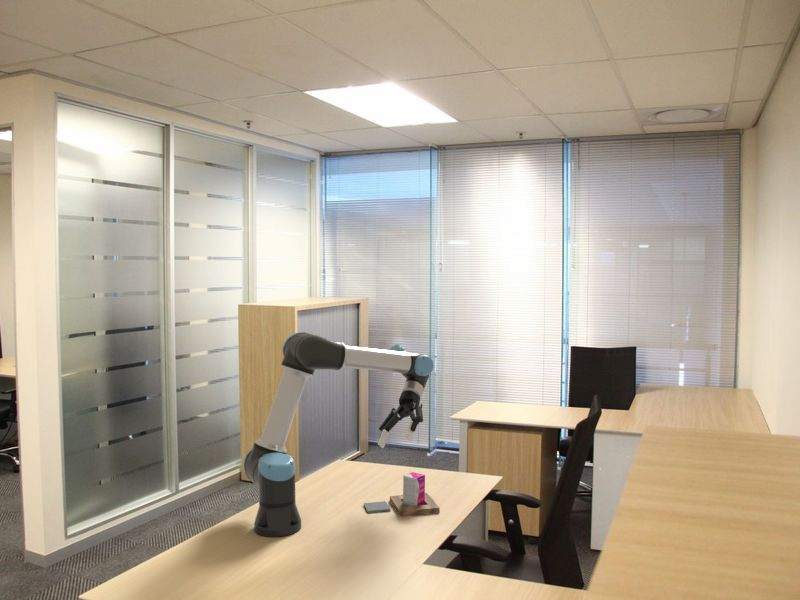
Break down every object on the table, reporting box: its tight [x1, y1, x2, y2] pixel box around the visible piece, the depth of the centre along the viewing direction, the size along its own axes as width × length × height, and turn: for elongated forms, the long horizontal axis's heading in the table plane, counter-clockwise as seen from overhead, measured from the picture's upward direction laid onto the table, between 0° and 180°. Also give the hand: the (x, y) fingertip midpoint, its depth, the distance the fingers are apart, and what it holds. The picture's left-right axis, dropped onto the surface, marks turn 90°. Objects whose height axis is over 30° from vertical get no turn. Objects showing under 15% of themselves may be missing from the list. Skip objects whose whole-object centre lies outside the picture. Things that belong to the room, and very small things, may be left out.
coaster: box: [363, 500, 391, 514], centre depth 245 cm, size 8×8×1 cm
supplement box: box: [402, 471, 426, 507], centre depth 246 cm, size 6×6×12 cm
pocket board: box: [389, 492, 440, 517], centre depth 246 cm, size 14×16×2 cm
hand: (393, 442), depth 245 cm, fingers open, 13 cm apart
